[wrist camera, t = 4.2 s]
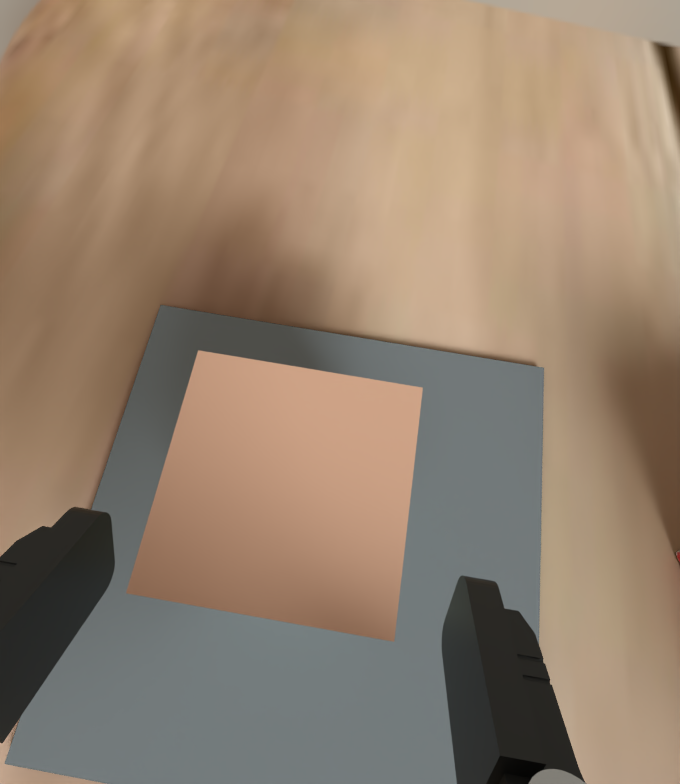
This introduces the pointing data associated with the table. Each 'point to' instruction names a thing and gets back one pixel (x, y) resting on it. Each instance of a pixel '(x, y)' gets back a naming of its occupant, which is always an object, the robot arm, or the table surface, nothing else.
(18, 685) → the robot arm
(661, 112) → the table surface
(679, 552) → the stack of blocks
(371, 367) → the charcoal mat
